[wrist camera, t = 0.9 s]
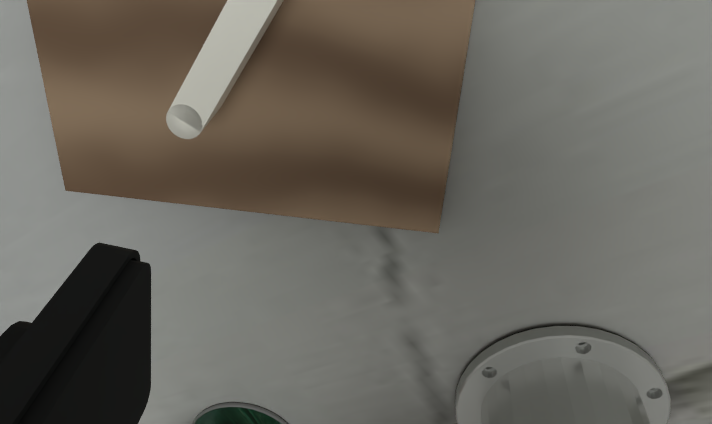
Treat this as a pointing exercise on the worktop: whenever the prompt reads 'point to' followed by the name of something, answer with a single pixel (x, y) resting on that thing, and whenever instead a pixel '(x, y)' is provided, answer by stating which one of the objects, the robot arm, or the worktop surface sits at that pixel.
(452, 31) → the dial board
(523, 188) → the worktop surface
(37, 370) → the robot arm
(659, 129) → the worktop surface
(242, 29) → the pointer
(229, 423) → the canned tomato
